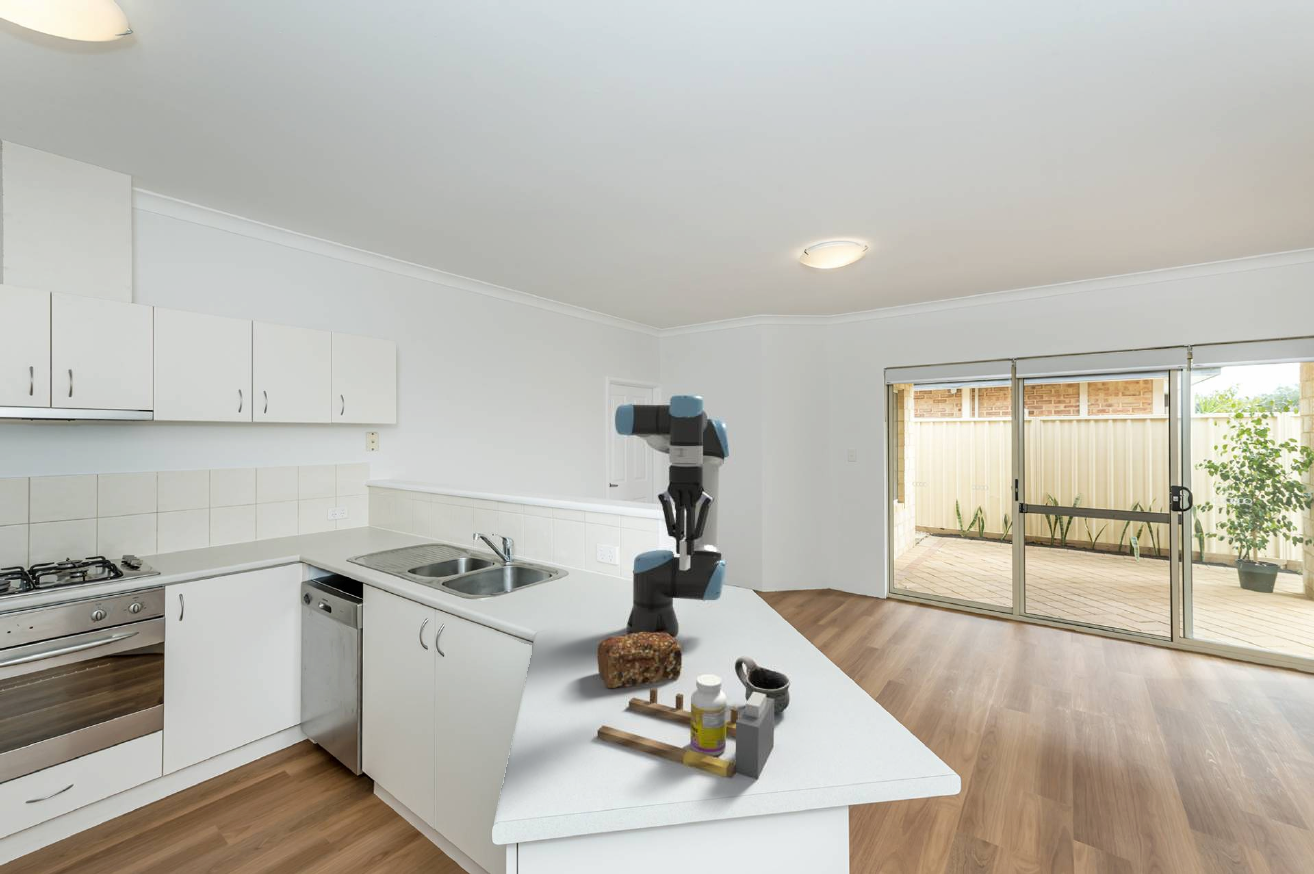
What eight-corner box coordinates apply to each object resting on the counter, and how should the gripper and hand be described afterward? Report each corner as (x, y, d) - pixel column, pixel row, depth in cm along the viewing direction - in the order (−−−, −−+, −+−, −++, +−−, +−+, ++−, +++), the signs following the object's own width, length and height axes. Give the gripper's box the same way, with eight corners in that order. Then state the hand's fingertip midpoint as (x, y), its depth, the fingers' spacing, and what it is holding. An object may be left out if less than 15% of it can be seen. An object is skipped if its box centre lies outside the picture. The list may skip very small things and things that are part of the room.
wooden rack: (597, 738, 106) (597, 717, 106) (636, 701, 120) (636, 683, 120) (731, 778, 94) (732, 755, 94) (757, 732, 108) (757, 712, 108)
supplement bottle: (689, 737, 107) (690, 671, 106) (723, 737, 107) (724, 671, 106) (691, 758, 100) (692, 687, 100) (727, 758, 100) (728, 688, 100)
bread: (607, 692, 125) (607, 648, 124) (595, 672, 135) (596, 631, 134) (683, 680, 131) (683, 638, 131) (667, 662, 141) (667, 623, 141)
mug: (780, 728, 110) (781, 678, 110) (723, 710, 117) (724, 663, 117) (796, 707, 119) (796, 661, 118) (742, 692, 125) (742, 648, 125)
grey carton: (733, 772, 96) (734, 709, 96) (751, 740, 106) (752, 683, 106) (757, 779, 94) (758, 715, 94) (773, 746, 104) (774, 688, 104)
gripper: (652, 464, 123) (651, 569, 124) (707, 467, 117) (706, 577, 118) (666, 461, 130) (665, 561, 131) (719, 464, 124) (717, 568, 125)
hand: (684, 568), depth 124 cm, fingers closed
